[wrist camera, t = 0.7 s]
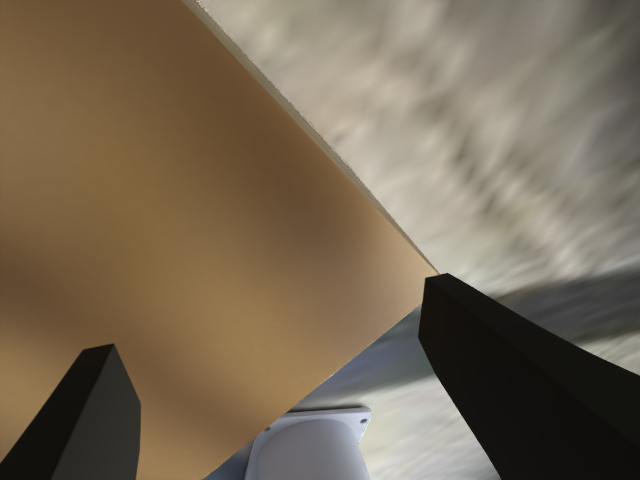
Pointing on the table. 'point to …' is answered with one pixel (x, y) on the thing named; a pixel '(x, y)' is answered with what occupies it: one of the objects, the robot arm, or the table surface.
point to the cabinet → (177, 229)
